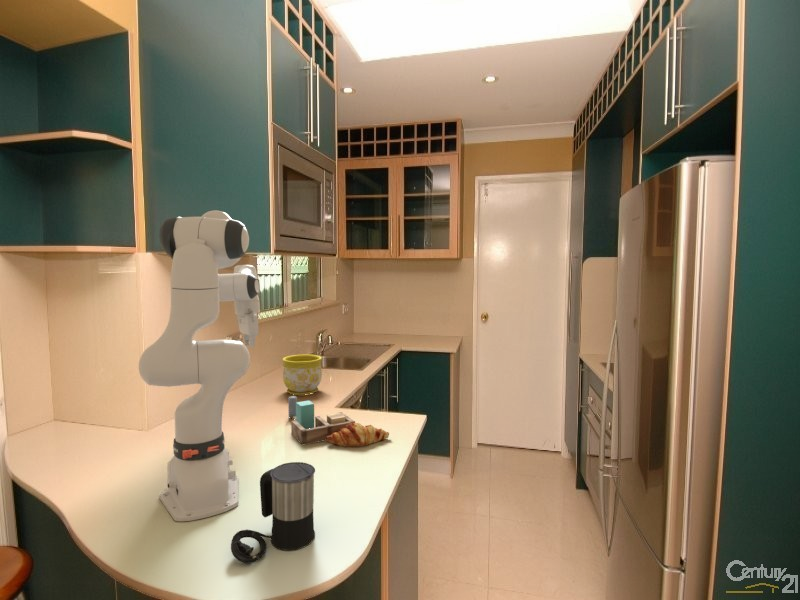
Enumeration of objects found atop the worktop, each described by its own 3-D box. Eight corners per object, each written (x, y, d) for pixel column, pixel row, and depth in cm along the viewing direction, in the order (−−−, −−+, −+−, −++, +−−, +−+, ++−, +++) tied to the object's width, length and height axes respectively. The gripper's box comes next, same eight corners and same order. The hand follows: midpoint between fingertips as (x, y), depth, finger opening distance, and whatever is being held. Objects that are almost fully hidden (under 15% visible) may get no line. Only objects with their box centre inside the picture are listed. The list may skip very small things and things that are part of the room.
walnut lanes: (355, 434, 154) (355, 421, 154) (302, 444, 144) (302, 431, 144) (341, 423, 165) (341, 412, 164) (291, 433, 155) (291, 420, 154)
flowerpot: (306, 399, 195) (305, 363, 194) (274, 394, 203) (274, 359, 202) (329, 390, 211) (329, 356, 210) (299, 385, 219) (299, 353, 218)
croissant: (386, 445, 153) (384, 422, 156) (394, 442, 144) (391, 417, 147) (325, 451, 147) (324, 427, 150) (329, 448, 138) (327, 422, 141)
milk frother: (322, 529, 97) (322, 464, 96) (286, 577, 82) (285, 500, 81) (266, 519, 101) (265, 456, 100) (221, 563, 86) (219, 489, 85)
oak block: (345, 433, 155) (345, 416, 155) (332, 436, 152) (332, 419, 152) (339, 429, 159) (339, 412, 159) (326, 431, 157) (326, 415, 156)
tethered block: (314, 428, 160) (314, 403, 159) (301, 430, 157) (300, 406, 157) (297, 415, 174) (297, 392, 174) (285, 417, 172) (284, 394, 171)
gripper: (261, 308, 156) (264, 347, 156) (251, 308, 174) (253, 343, 174) (243, 309, 153) (245, 349, 153) (234, 309, 171) (236, 344, 171)
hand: (249, 346), depth 163 cm, fingers open, 8 cm apart
